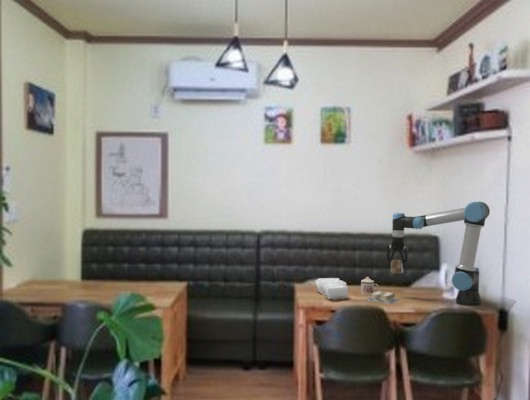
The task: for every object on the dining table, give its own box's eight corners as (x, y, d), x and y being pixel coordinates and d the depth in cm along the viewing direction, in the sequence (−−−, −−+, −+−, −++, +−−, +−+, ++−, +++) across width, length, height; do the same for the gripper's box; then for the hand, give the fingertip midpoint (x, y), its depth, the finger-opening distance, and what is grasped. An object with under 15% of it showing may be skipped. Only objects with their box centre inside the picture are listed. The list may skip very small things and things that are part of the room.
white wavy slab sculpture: (350, 301, 347) (351, 285, 347) (325, 301, 345) (325, 285, 345) (337, 291, 382) (337, 275, 382) (313, 291, 380) (314, 276, 380)
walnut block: (403, 272, 360) (403, 260, 360) (400, 273, 355) (400, 261, 355) (394, 271, 363) (394, 259, 363) (391, 272, 358) (391, 260, 358)
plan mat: (399, 300, 353) (400, 299, 353) (392, 304, 340) (392, 303, 340) (373, 296, 363) (373, 296, 362) (364, 301, 349) (364, 300, 349)
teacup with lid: (361, 295, 367) (361, 278, 366) (359, 292, 376) (359, 275, 376) (379, 295, 366) (379, 278, 366) (377, 293, 375) (377, 276, 375)
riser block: (394, 299, 353) (394, 293, 353) (388, 302, 343) (388, 296, 343) (376, 297, 359) (376, 291, 359) (370, 300, 349) (370, 294, 349)
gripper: (414, 237, 356) (413, 272, 357) (385, 235, 366) (384, 269, 367) (410, 238, 350) (409, 274, 351) (382, 236, 360) (381, 271, 361)
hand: (397, 272), depth 359 cm, fingers closed on walnut block, 6 cm apart
